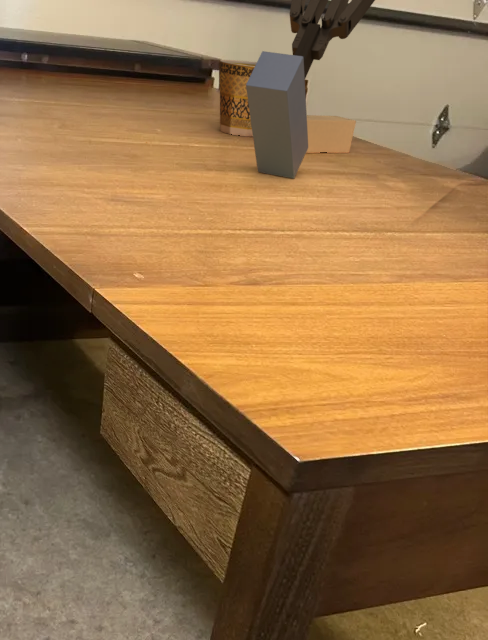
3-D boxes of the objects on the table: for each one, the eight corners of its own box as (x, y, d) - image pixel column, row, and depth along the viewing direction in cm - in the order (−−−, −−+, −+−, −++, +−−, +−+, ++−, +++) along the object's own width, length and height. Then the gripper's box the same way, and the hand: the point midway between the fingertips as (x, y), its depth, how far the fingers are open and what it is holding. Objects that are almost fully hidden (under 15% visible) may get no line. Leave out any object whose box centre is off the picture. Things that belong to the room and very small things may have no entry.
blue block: (272, 141, 107) (262, 50, 94) (308, 147, 105) (303, 56, 92) (257, 172, 106) (245, 84, 93) (294, 179, 104) (287, 91, 91)
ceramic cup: (267, 141, 130) (279, 69, 124) (205, 132, 131) (214, 61, 126) (275, 130, 140) (286, 64, 135) (218, 123, 142) (227, 57, 136)
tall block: (336, 115, 128) (276, 114, 122) (356, 120, 124) (295, 119, 119) (329, 147, 130) (270, 147, 125) (349, 152, 127) (289, 153, 122)
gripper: (415, -48, 104) (347, 107, 101) (317, -55, 109) (249, 92, 106) (418, -105, 97) (346, 58, 94) (313, -111, 102) (241, 45, 99)
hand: (295, 76), depth 100 cm, fingers closed
